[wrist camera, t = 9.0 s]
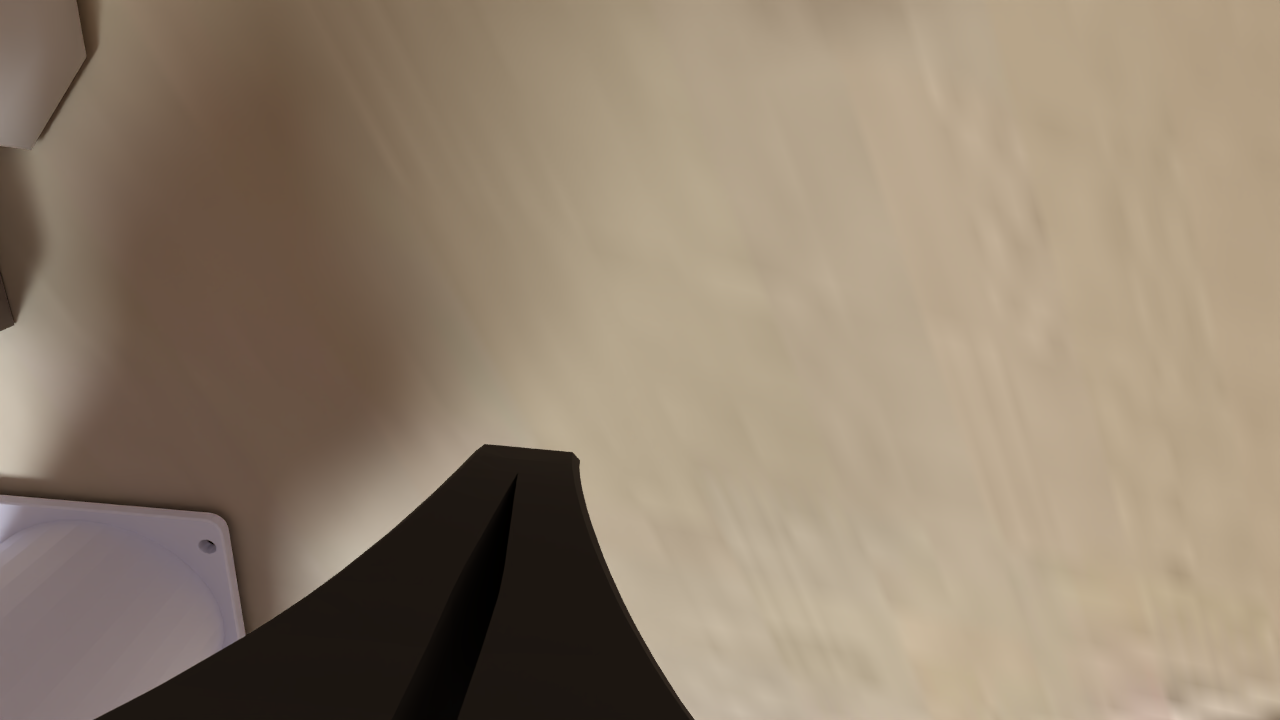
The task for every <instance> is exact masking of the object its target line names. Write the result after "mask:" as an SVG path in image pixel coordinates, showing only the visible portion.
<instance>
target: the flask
mask: <svg viewBox="0 0 1280 720" xmlns="http://www.w3.org/2000/svg"><path fill="white" fill-rule="evenodd" d="M86 57H87V56H86V51H85V45H84V40H83V34H82V28H81V23H80V17H79V12H78V6H77V1H76V0H0V146H3V147H11V148H19V149H26V150H31V149H32V147H33V146H34V144H35V142H36V141H37V139H38V137H39V136H40V134H41V132H42V131H43V129H44V127H45V126H46V124H47V122H48V121H49V119H50V117H51V116H52V114H53V112H54V111H55V109H56V107H57V106H58V104H59V102H60V101H61V99H62V97H63V95H64V94H65V92H66V90H67V89H68V87H69V85H70V84H71V82H72V80H73V79H74V77H75V75H76V74H77V72H78V70H79V69H80V67H81V65H82V64H83V62H84V60H85V59H86Z"/></svg>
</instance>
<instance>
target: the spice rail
mask: <svg viewBox="0 0 1280 720" xmlns="http://www.w3.org/2000/svg"><path fill="white" fill-rule="evenodd" d="M13 325H14V322H13V318H12V314H11V311H10V307H9V303H8V300H7V296H6V292H5V289H4V285H3V281H2V278H1V274H0V331H2V330H4V329H6V328H8V327H11V326H13Z"/></svg>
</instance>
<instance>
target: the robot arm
mask: <svg viewBox="0 0 1280 720" xmlns="http://www.w3.org/2000/svg"><path fill="white" fill-rule="evenodd" d="M579 464H580V460H579V459H578V458H577V457H576V456H575V454H574V453H573V452H564V451H553V450H542V449H531V448H521V447H510V446H499V445H488V444H484V445H483V446H482V447H480V448H479V449H478V450H476V451H475V452H474V453H473V454H472V455H471V456H470V457H469V458H468V459H467V460H466V461H465V462H464V463H463V464H462V465H461V466H460V467H459V468H458V469H457V470H456V471H455V472H454V473H453V474H452V475H451V476H450V477H449V478H448V479H447V480H446V481H445V482H444V483H443V484H442V485H441V486H440V487H439V488H438V489H437V490H436V491H435V492H434V493H433V494H432V495H431V496H429V497H428V498H427V499H426V500H425V501H424V502H423V503H422V504H421V505H419V506H418V507H417V508H416V509H415V510H414V511H413V512H412V513H411V514H409V515H408V516H407V517H406V518H405V519H404V520H403V521H402V522H400V523H399V524H398V525H397V526H396V527H395V528H394V529H392V530H391V531H390V532H389V533H388V534H387V535H385V536H384V537H383V538H382V539H380V540H379V541H378V542H377V543H375V544H374V545H373V546H372V547H370V548H369V549H368V550H367V551H365V552H364V553H363V554H362V555H360V556H359V557H358V558H357V559H355V560H354V561H353V562H352V563H350V564H349V565H348V566H347V567H345V568H344V569H343V570H342V571H340V572H339V573H338V574H336V575H335V576H334V577H332V578H331V579H330V580H328V581H327V582H325V583H324V584H323V585H321V586H320V587H319V588H317V589H316V590H314V591H313V592H312V593H310V594H309V595H307V596H306V597H305V598H303V599H302V600H300V601H299V602H297V603H296V604H294V605H293V606H291V607H290V608H288V609H287V610H285V611H284V612H282V613H281V614H279V615H278V616H276V617H275V618H273V619H272V620H270V621H269V622H267V623H266V624H264V625H262V626H261V627H259V628H258V629H256V630H254V631H253V632H251V633H249V634H248V635H245V628H244V622H243V616H242V610H241V603H240V597H239V591H238V584H237V578H236V572H235V566H234V559H233V553H232V547H231V541H230V534H229V528H228V525H227V523H226V521H225V520H224V519H223V518H222V517H220V516H218V515H216V514H213V513H207V512H195V511H184V510H172V509H161V508H149V507H138V506H126V505H114V504H103V503H91V502H80V501H68V500H57V499H45V498H33V497H22V496H10V495H0V720H694V718H693V717H692V716H691V714H690V713H689V712H688V710H687V709H686V707H685V706H684V705H683V703H682V702H681V700H680V699H679V697H678V696H677V694H676V693H675V691H674V690H673V688H672V686H671V685H670V683H669V682H668V680H667V678H666V677H665V675H664V674H663V672H662V670H661V669H660V667H659V666H658V664H657V662H656V661H655V659H654V657H653V656H652V654H651V652H650V650H649V649H648V647H647V645H646V643H645V642H644V640H643V638H642V636H641V635H640V633H639V631H638V629H637V627H636V625H635V624H634V622H633V620H632V618H631V616H630V614H629V612H628V610H627V608H626V606H625V604H624V602H623V600H622V598H621V595H620V593H619V591H618V589H617V587H616V585H615V582H614V580H613V578H612V576H611V574H610V571H609V569H608V566H607V564H606V562H605V559H604V557H603V554H602V551H601V549H600V546H599V543H598V540H597V538H596V535H595V532H594V529H593V526H592V524H591V520H590V517H589V514H588V511H587V507H586V503H585V499H584V495H583V491H582V486H581V480H580V470H579ZM207 540H209V541H212V542H213V543H214V544H215V545H213V544H211V543H209V542H208V541H207Z"/></svg>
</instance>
